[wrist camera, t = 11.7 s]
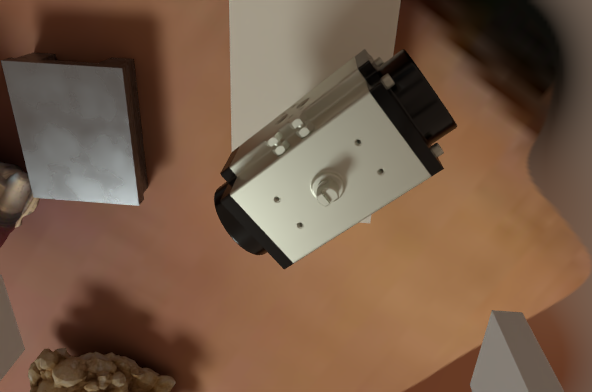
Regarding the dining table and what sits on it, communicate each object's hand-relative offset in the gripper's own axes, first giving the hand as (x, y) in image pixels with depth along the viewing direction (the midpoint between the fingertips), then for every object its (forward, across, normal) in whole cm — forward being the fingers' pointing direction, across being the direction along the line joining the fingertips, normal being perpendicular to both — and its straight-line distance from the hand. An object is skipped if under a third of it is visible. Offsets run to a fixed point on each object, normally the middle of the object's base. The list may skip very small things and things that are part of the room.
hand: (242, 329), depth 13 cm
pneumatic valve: (+20, +2, 0) cm, 20 cm away
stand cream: (+23, +1, 0) cm, 23 cm away
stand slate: (+23, -15, -3) cm, 28 cm away
